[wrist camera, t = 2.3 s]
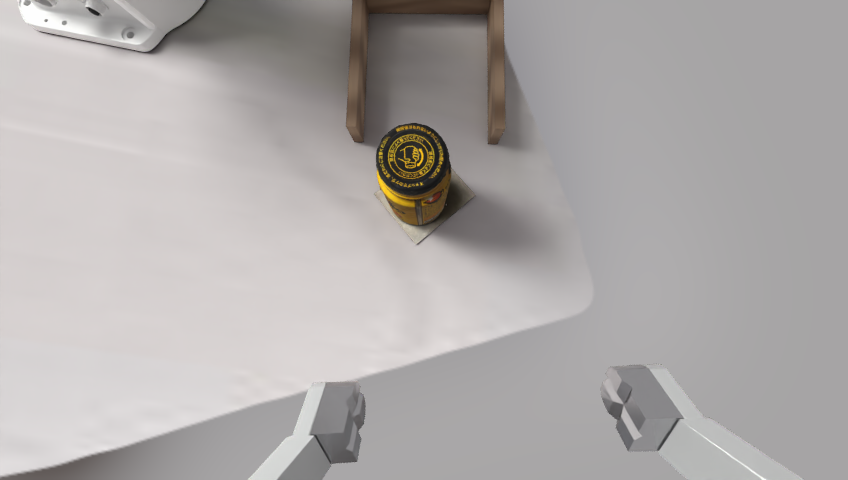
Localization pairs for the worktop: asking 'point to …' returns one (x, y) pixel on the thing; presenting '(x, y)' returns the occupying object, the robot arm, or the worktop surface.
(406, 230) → the condiment
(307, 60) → the worktop surface
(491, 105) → the box
